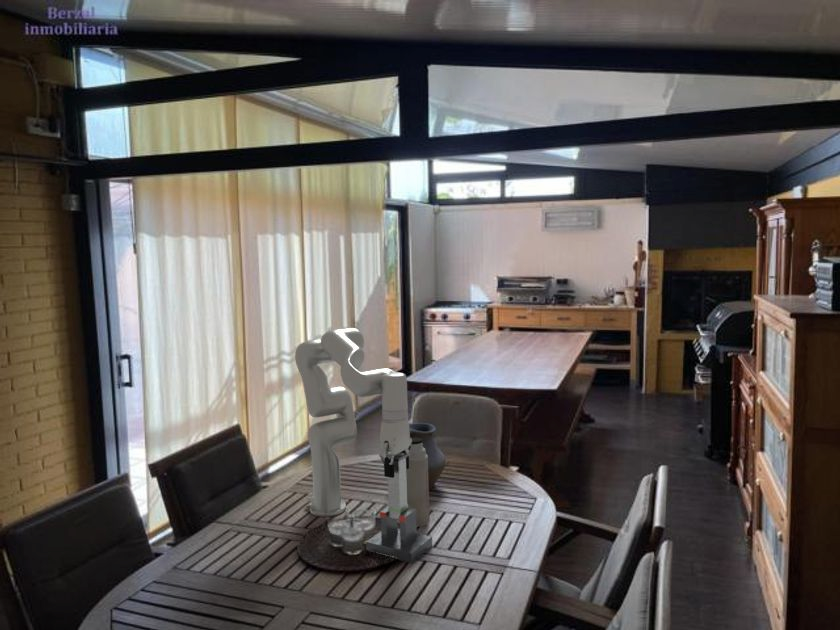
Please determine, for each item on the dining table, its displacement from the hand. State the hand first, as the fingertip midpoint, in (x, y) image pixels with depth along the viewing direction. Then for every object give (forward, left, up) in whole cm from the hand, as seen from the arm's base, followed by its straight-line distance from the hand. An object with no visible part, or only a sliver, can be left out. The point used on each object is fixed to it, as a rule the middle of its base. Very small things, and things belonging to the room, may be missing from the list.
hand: (396, 472), depth 188 cm
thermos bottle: (-5, +19, -24) cm, 31 cm away
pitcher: (-20, +45, -24) cm, 55 cm away
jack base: (0, 0, -24) cm, 24 cm away
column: (0, 0, -14) cm, 14 cm away
